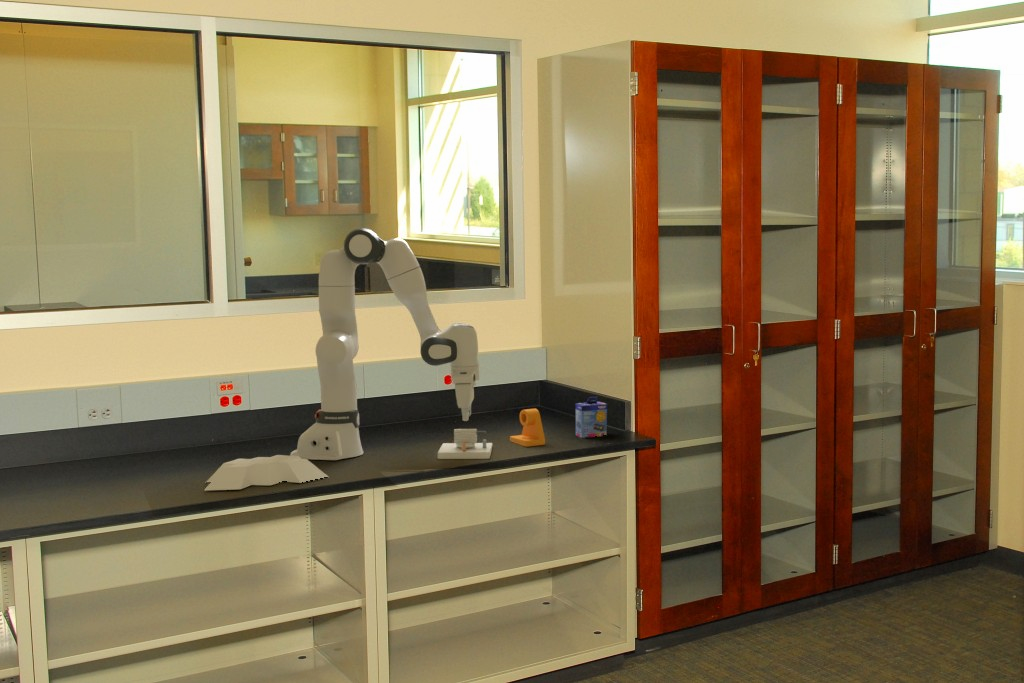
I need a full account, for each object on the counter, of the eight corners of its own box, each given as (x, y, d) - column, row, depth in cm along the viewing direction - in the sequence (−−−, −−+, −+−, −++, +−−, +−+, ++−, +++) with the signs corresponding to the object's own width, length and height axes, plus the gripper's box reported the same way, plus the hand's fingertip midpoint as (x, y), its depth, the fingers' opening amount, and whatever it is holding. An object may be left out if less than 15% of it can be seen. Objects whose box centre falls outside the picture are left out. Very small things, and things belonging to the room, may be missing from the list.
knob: (453, 448, 321) (453, 431, 321) (455, 445, 327) (455, 427, 327) (485, 448, 321) (485, 430, 320) (486, 444, 327) (486, 427, 326)
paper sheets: (314, 467, 310) (314, 449, 310) (332, 479, 292) (331, 460, 292) (195, 479, 295) (194, 460, 295) (205, 493, 277) (204, 472, 277)
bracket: (508, 444, 340) (508, 408, 339) (527, 442, 344) (526, 406, 343) (526, 449, 331) (525, 412, 330) (545, 446, 335) (544, 410, 334)
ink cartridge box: (582, 441, 344) (581, 398, 342) (574, 438, 349) (574, 396, 347) (608, 438, 348) (607, 396, 346) (600, 436, 353) (599, 394, 351)
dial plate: (437, 459, 316) (437, 444, 316) (443, 449, 332) (442, 435, 332) (489, 458, 316) (489, 444, 315) (492, 449, 332) (492, 435, 331)
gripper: (458, 371, 333) (459, 413, 334) (452, 378, 312) (453, 423, 313) (477, 370, 332) (479, 412, 333) (472, 378, 312) (474, 423, 313)
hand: (466, 418), depth 323 cm, fingers open, 8 cm apart
